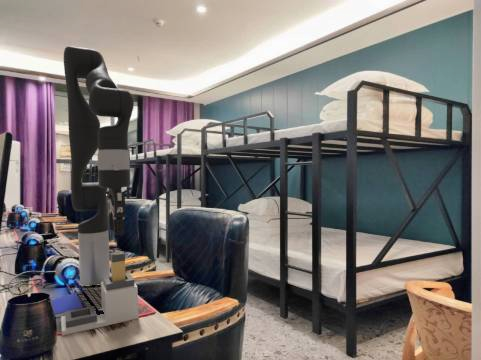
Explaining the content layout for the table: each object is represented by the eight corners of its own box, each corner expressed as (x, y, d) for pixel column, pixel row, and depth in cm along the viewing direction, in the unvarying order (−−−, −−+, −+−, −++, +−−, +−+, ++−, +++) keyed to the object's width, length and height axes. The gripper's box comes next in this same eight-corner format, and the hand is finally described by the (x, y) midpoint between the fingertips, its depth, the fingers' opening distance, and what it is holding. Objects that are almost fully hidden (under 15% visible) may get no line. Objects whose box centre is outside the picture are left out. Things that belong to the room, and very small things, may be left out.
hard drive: (46, 299, 97) (53, 314, 87) (77, 292, 102) (87, 305, 92) (46, 305, 97) (53, 320, 87) (78, 297, 102) (88, 311, 92)
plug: (111, 283, 88) (110, 252, 88) (123, 281, 90) (122, 251, 89) (113, 287, 85) (111, 255, 85) (126, 284, 87) (124, 253, 86)
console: (61, 320, 85) (59, 282, 85) (131, 305, 93) (130, 271, 93) (61, 335, 77) (60, 294, 77) (138, 318, 86) (137, 280, 85)
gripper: (95, 169, 91) (97, 229, 91) (101, 168, 78) (104, 238, 79) (124, 168, 94) (126, 226, 95) (135, 167, 82) (137, 235, 82)
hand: (116, 232), depth 87 cm, fingers open, 8 cm apart
